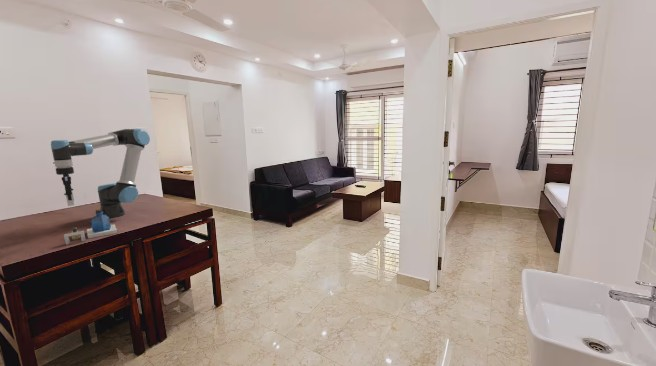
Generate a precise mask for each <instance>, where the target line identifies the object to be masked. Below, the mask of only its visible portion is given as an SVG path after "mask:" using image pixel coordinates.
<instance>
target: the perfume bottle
mask: <svg viewBox="0 0 656 366" xmlns="http://www.w3.org/2000/svg"><path fill="white" fill-rule="evenodd" d="M90 224H91V228H92V230H93V231H106V230H107V229H109V228H111V225H112V224H111V218H109V217H108V216H107V215H103V212H102V210H100V209H96V210H95V216H93V217H92V219H91V221H90Z"/></svg>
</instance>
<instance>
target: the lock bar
mask: <svg viewBox="0 0 656 366" xmlns="http://www.w3.org/2000/svg"><path fill="white" fill-rule="evenodd" d="M71 229H72V231H71V233H74V232H80V231H79V229H78V228H77V227H75V226H74V227H72V228H71ZM79 239H80V234H78V235H73V236H71V240H73V241H74V240H79Z"/></svg>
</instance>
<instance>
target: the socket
mask: <svg viewBox="0 0 656 366" xmlns="http://www.w3.org/2000/svg"><path fill="white" fill-rule="evenodd" d="M110 225H111V228H109V229H107V230H105V231H93V230H92V227H91V228H86V233H87V235H86V236H87V239H93V238H99V237H104V236H109V235H114V234H118V229H117V227H116V224H115V223H114V224H110Z"/></svg>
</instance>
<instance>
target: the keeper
mask: <svg viewBox="0 0 656 366" xmlns="http://www.w3.org/2000/svg"><path fill="white" fill-rule="evenodd" d="M78 234H79V235H80V239H81V242H86V234H85V230H80V231H79V232H74V233H72V232H70V233H65V234H63V237H64V242H65V246H66V245H70V243H71V242H70V237H72V236H73V235H78Z"/></svg>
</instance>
